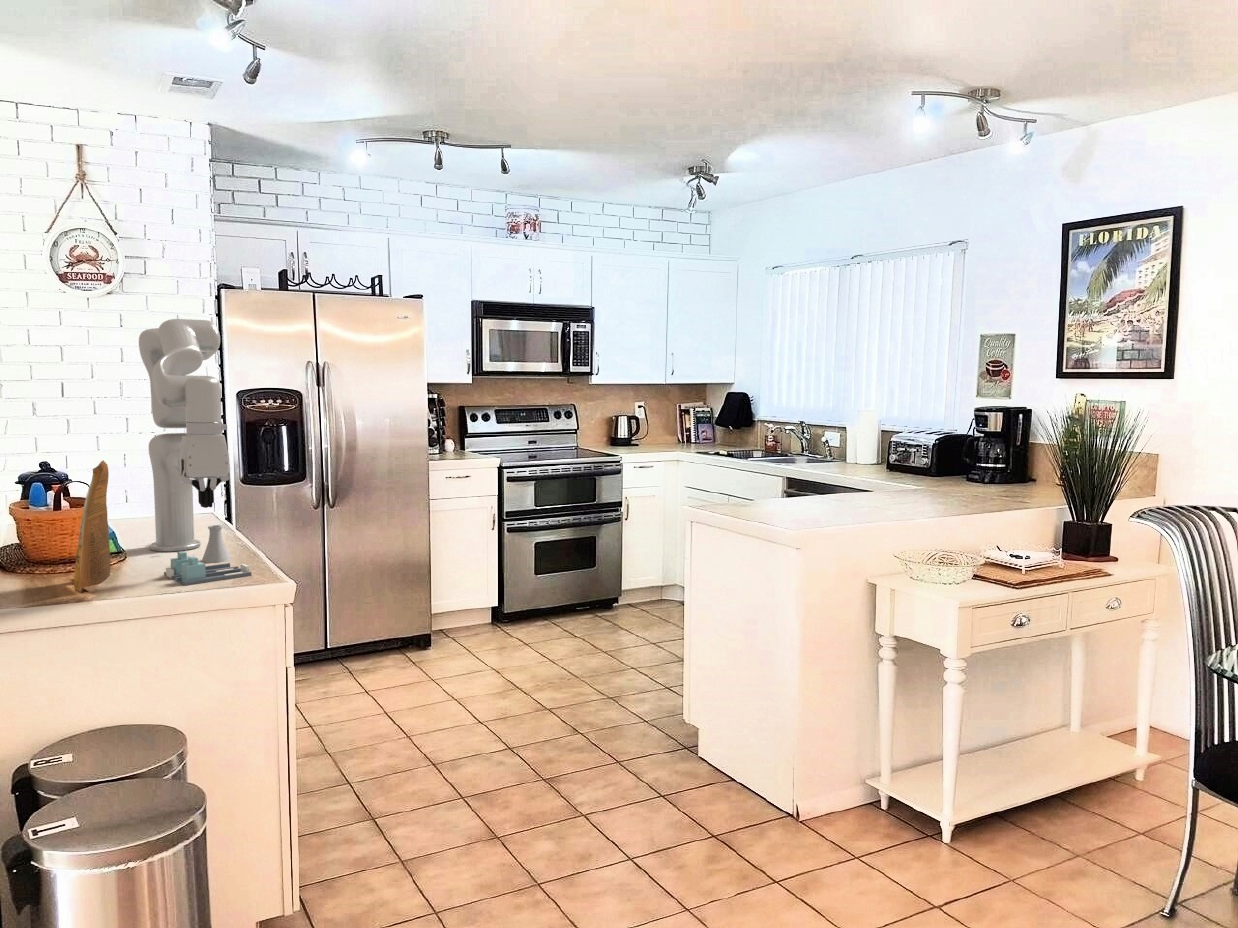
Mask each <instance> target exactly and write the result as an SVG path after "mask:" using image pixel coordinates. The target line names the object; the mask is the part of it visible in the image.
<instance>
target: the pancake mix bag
mask: <svg viewBox="0 0 1238 928" xmlns="http://www.w3.org/2000/svg"><path fill="white" fill-rule="evenodd" d="M108 484H109V466H108V464H107V463H106V461H105V460H101V461H100V462H99V464H98V465H97V466H95V467H94V468H92V477H91V481H90V484H89V487H88V491H87V492H86V497H85V501H84V503H83V509H82V515H81V519H80V527H79V534H78V544H77V550H76V557H75V568H74V575H73V586H74V592H75V591H79V592H78V593H80V594H83V593H84V592H87V593H90V591H89V590H87V589H86V588H88V587H89V588H90V587H93V586H96V585H97V586H98V585H100V584H102V583H103V582H104V581H106V580H107V579H108V578H109V577H110V575H111V555H110V554H111V553H110V552H111V551H110V550H111V549H110V545H111V544H110V532H109V530H110V529H109V523H108V506H107V492H108V486H109V485H108Z"/></svg>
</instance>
